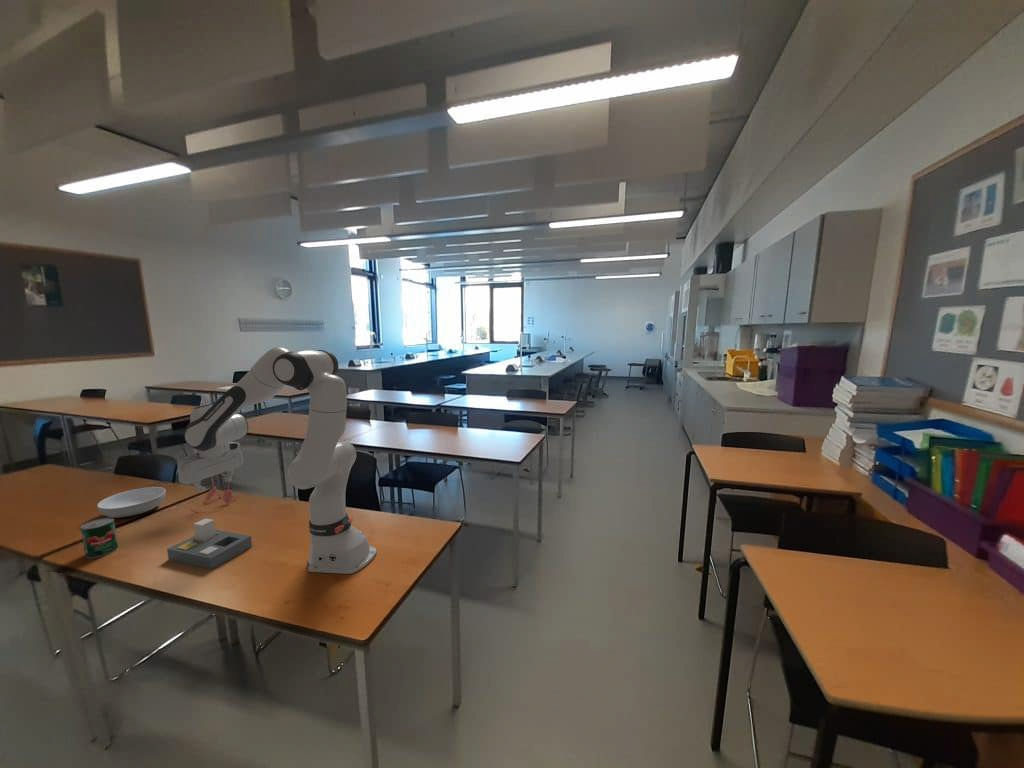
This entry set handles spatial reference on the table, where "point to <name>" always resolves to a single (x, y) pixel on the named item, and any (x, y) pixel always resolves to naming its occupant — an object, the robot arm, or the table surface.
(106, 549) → the canned tomato
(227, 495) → the figurine
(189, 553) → the socket block
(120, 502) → the serving bowl
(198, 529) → the plug
